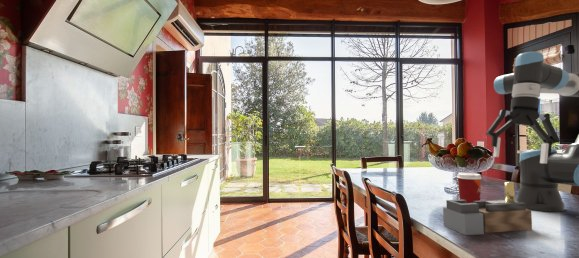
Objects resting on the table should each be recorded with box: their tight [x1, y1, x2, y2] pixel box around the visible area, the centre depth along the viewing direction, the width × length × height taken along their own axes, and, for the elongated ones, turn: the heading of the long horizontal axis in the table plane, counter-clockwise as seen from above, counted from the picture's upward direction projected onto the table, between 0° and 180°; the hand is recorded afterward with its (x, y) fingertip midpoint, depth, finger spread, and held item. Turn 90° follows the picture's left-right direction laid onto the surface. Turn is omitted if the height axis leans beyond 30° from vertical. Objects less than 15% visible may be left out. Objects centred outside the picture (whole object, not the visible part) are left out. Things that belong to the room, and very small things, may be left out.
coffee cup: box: [456, 172, 483, 203], centre depth 112 cm, size 8×8×15 cm
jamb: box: [442, 199, 485, 236], centre depth 94 cm, size 6×10×9 cm, turn 8°
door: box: [473, 198, 533, 234], centre depth 96 cm, size 16×8×8 cm, turn 98°
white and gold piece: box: [485, 181, 518, 204], centre depth 96 cm, size 9×3×8 cm, turn 98°
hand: (519, 160), depth 100 cm, fingers open, 13 cm apart
